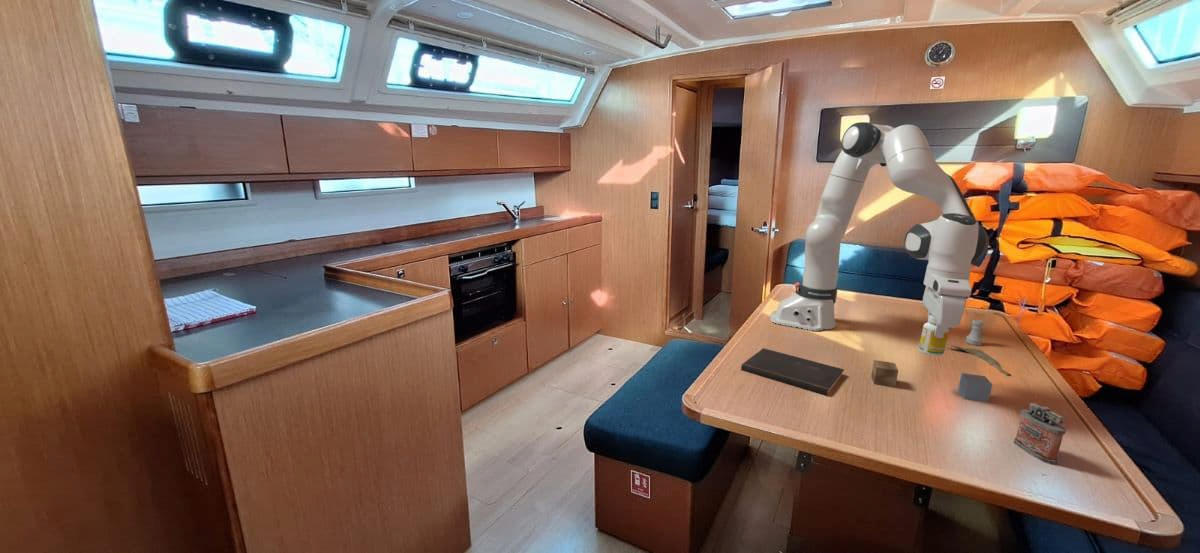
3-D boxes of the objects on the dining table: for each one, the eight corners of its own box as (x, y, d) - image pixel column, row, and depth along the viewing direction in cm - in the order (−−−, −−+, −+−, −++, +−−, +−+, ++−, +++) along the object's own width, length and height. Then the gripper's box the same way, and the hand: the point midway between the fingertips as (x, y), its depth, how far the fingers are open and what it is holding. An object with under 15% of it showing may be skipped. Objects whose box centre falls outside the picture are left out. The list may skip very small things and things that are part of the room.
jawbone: (967, 349, 153) (969, 343, 152) (1033, 378, 133) (1036, 371, 133) (944, 349, 151) (945, 343, 151) (1008, 378, 132) (1010, 371, 131)
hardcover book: (762, 354, 146) (763, 348, 145) (843, 376, 132) (844, 369, 131) (740, 372, 134) (741, 364, 134) (826, 398, 120) (827, 390, 119)
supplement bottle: (913, 350, 123) (920, 315, 121) (926, 347, 125) (933, 312, 123) (935, 358, 118) (942, 321, 116) (948, 354, 120) (955, 319, 118)
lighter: (1008, 441, 101) (1019, 398, 99) (1023, 440, 101) (1034, 398, 99) (1046, 464, 93) (1058, 419, 91) (1061, 464, 93) (1074, 418, 91)
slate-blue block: (963, 399, 119) (967, 380, 118) (957, 390, 123) (961, 372, 122) (988, 403, 117) (992, 384, 116) (981, 394, 122) (985, 376, 120)
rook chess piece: (975, 341, 157) (980, 318, 155) (985, 346, 153) (990, 322, 151) (961, 340, 158) (966, 317, 156) (970, 345, 153) (975, 322, 151)
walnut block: (873, 384, 126) (876, 367, 125) (871, 376, 131) (873, 360, 130) (895, 387, 124) (898, 370, 123) (891, 380, 129) (894, 363, 128)
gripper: (921, 269, 127) (912, 318, 131) (941, 288, 109) (929, 344, 113) (949, 272, 125) (939, 321, 128) (974, 292, 107) (961, 349, 110)
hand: (934, 332), depth 120 cm, fingers closed on supplement bottle, 5 cm apart
